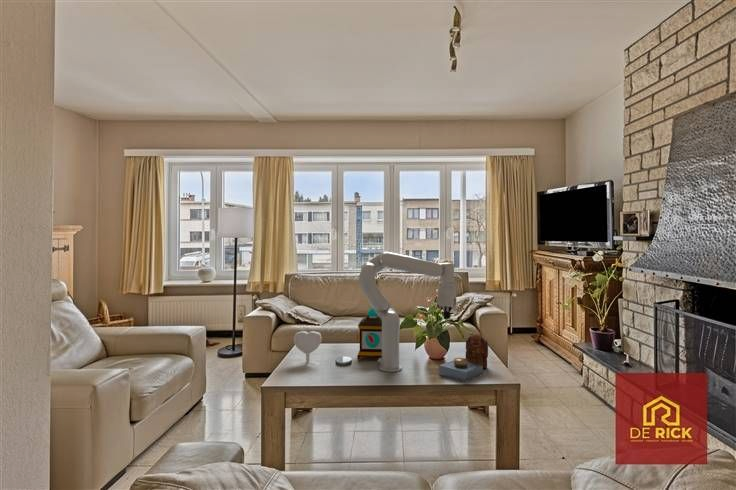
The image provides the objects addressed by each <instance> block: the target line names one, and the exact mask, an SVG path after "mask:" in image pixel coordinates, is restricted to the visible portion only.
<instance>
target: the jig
mask: <svg viewBox="0 0 736 490" xmlns="http://www.w3.org/2000/svg"><path fill="white" fill-rule="evenodd" d="M483 370H484V369H483V365H479V364H475V363H470V362H467V367H456V366H454V359H453V360H451V361H447V362H445V363H442V364H439V365H438V375H439V376H441V377H445V378H448V377H449V378H448V379H452V378H453V379H452V380H455V379H457V380H456V381H459V380H460V381H459V382H463V381H464V383H467V382H466V381H468V380H470V381H471V379H472V380H474V379H473V378H475V377H477V378H479V377H481V376H480V375H482V374H483V373H484V371H483ZM483 375H484V374H483ZM483 375H482V376H483ZM478 376H479V377H478ZM475 379H476V378H475ZM468 382H469V381H468Z"/></svg>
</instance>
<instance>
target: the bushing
mask: <svg viewBox="0 0 736 490" xmlns="http://www.w3.org/2000/svg"><path fill="white" fill-rule="evenodd" d="M453 360H454V366H456V367H467V359H466V357H465V358H464V357H455V358H453Z"/></svg>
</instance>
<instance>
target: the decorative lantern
mask: <svg viewBox="0 0 736 490" xmlns="http://www.w3.org/2000/svg"><path fill="white" fill-rule="evenodd" d="M357 327H358V330H359V331H357V334H356V340H357V342H358V344H359V350H358V354H357V361H358V362H360V361H361V358H362V357H363V358H364V357H366V358H368V357H369V358H371V357H372V358H374V357H375V358H382V321H381V320H380V318H379V317H378V315H377V314H376V312H375V311H374V309H373V308H372V307H371V308H370V309H369V310H368V311H367V315H366V317H363V318H362V319H360V321H359V322H358V325H357Z"/></svg>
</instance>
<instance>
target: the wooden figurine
mask: <svg viewBox="0 0 736 490" xmlns="http://www.w3.org/2000/svg"><path fill="white" fill-rule="evenodd" d="M465 350H466V351H465V359H467V362H470V363H475V364H479V365H483V368H487V369H488V356H489V343H488V341H487V340H485V339H484V338H483V336H481V335H479V334H472V335H470V336H468V338H467V339H466V341H465Z"/></svg>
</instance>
